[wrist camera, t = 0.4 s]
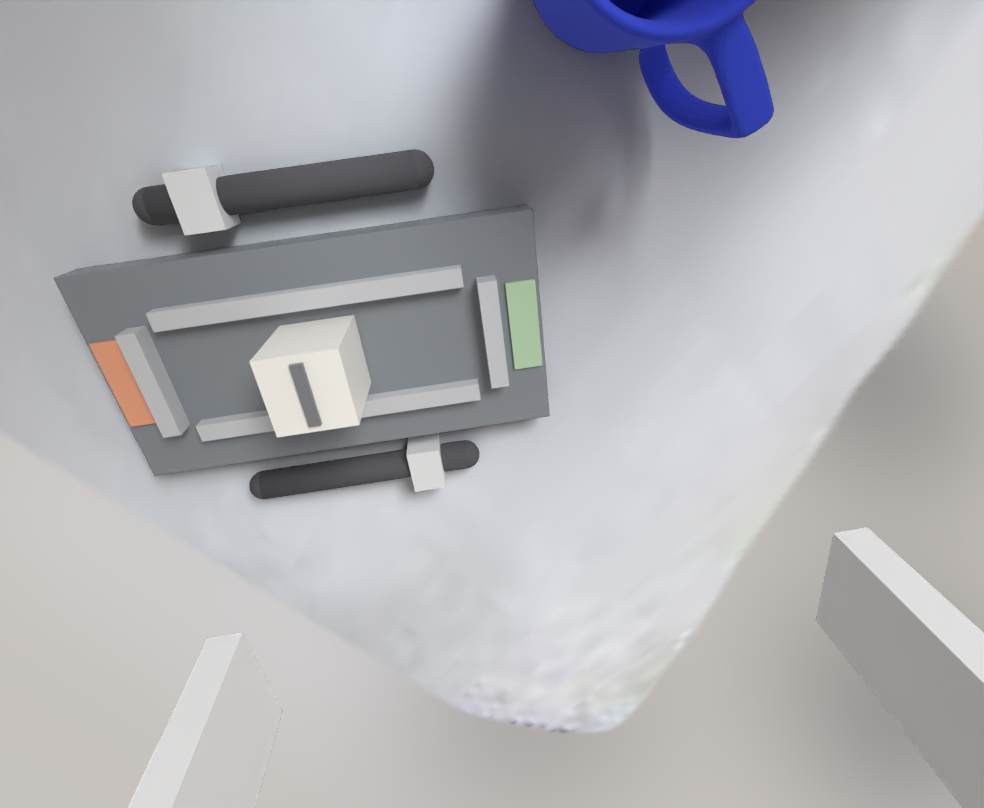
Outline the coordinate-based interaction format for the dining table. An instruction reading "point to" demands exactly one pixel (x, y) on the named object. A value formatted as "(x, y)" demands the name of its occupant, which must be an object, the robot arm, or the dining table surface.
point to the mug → (650, 25)
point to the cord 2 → (372, 469)
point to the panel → (315, 296)
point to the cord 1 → (274, 189)
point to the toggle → (313, 376)
